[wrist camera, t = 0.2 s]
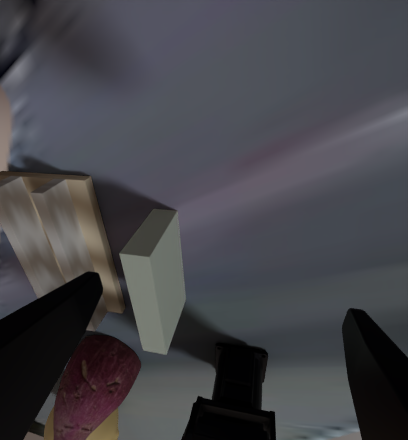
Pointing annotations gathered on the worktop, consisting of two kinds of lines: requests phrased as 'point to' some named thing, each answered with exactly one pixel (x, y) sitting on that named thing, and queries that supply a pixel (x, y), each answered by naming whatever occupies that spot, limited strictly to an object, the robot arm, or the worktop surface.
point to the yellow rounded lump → (102, 436)
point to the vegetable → (93, 386)
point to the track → (59, 234)
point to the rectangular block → (155, 278)
